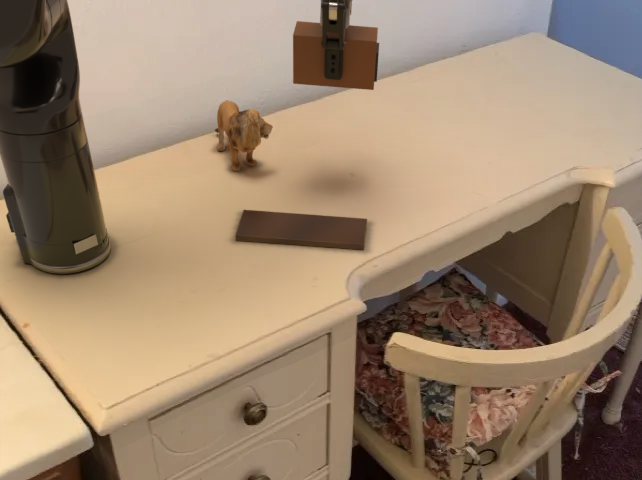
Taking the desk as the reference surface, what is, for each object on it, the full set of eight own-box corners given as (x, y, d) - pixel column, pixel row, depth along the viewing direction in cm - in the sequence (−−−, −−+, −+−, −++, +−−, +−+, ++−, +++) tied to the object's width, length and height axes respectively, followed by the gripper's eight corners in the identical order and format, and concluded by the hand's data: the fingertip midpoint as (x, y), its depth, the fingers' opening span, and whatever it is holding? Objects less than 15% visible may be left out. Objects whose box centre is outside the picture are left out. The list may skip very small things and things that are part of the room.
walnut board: (235, 240, 104) (235, 235, 103) (243, 214, 108) (243, 209, 107) (363, 250, 104) (364, 244, 103) (367, 223, 108) (367, 218, 107)
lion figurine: (278, 174, 116) (276, 112, 110) (243, 183, 113) (239, 121, 107) (231, 130, 124) (226, 70, 118) (198, 138, 122) (191, 77, 116)
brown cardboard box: (376, 90, 103) (379, 41, 99) (293, 83, 103) (292, 34, 99) (377, 75, 107) (380, 27, 103) (296, 69, 106) (296, 20, 102)
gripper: (370, -61, 87) (362, 97, 99) (375, -97, 97) (367, 49, 109) (298, -67, 87) (298, 92, 99) (311, -103, 97) (309, 45, 109)
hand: (334, 69), depth 104 cm, fingers closed on brown cardboard box, 4 cm apart
